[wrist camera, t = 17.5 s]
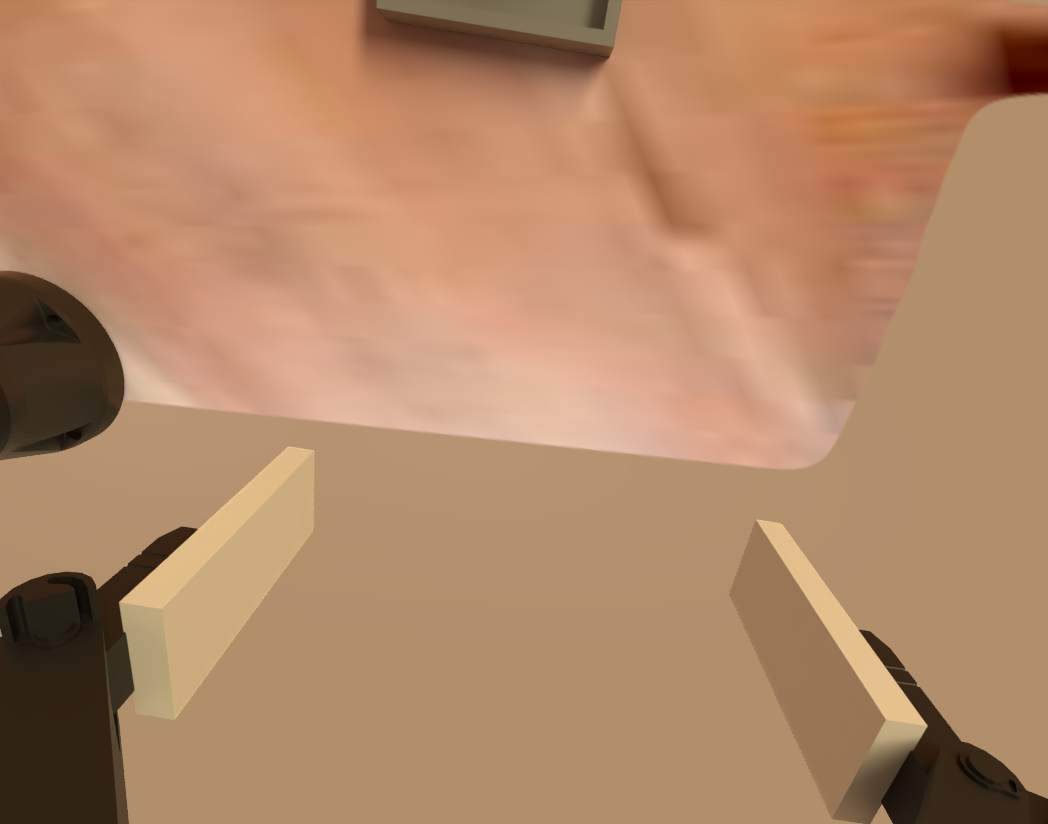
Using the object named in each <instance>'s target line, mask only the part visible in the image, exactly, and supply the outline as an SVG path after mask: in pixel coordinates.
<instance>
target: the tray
mask: <svg viewBox="0 0 1048 824" xmlns="http://www.w3.org/2000/svg"><path fill="white" fill-rule="evenodd" d="M621 3H622V0H377V6H376V8H377V9H378V10H379V11H380V13H381V14H382V15H383V16H384V17H385V18H386V19H387V20H388V21H393V22H399V23H405V24H411V25H417V26H423V27H429V28H435V29H441V30H447V31H453V32H459V33H465V34H471V35H478V36H484V37H490V38H496V39H502V40H508V41H514V42H520V43H526V44H532V45H538V46H544V47H550V48H556V49H563V50H569V51H575V52H581V53H587V54H593V55H599V56H605V57H610V55H611V52H612V50H613V47H614V42H615V37H616V31H617V26H618V20H619V14H620V9H621Z"/></svg>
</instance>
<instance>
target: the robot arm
mask: <svg viewBox="0 0 1048 824" xmlns="http://www.w3.org/2000/svg"><path fill="white" fill-rule="evenodd" d="M123 395H124V376H123V370H122V366H121V362H120V359H119V356H118V353H117V351H116V349H115V346H114V344H113V342H112V340H111V339H110V337H109V335H108V334H107V332H106V330H105V329H104V328H103V326H102V325H101V324H100V322H99V321H98V320H97V318H96V317H95V316H94V315H93V314H92V313H91V312H90V311H89V310H88V309H87V308H86V307H85V306H84V305H83V304H82V303H81V302H80V301H78V300H77V299H76V298H75V297H73V296H72V295H70V294H69V293H68V292H66V291H65V290H63V289H61V288H60V287H58V286H56V285H54V284H53V283H50V282H48V281H46V280H44V279H41V278H39V277H36V276H33V275H29V274H26V273H21V272H14V271H0V460H4V459H12V458H18V457H26V456H32V455H40V454H46V453H53V452H59V451H63V450H66V449H69V448H72V447H75V446H77V445H79V444H81V443H83V442H85V441H87V440H89V439H91V438H93V437H95V436H97V435H98V434H100V433H101V432H103V431H104V430H105V429H107V428H108V427H109V426H110V425H111V423H112V422H113V421H114V419H115V418H116V416H117V414H118V412H119V410H120V407H121V404H122V401H123ZM313 530H314V450H308V449H302V448H295V447H287V448H286V449H285V450H284V451H283V452H282V453H281V454H280V455H279V456H277V457H276V459H274V460H273V461H272V462H271V463H270V464H269V465H268V466H267V467H265V468H264V469H263V470H262V471H261V472H260V473H259V474H258V475H257V476H256V477H255V478H254V479H252V480H251V481H250V482H249V483H248V484H247V485H246V486H245V487H244V488H243V489H242V490H241V491H239V493H237V494H236V495H235V496H234V497H233V498H232V499H231V500H230V501H229V502H228V503H226V504H225V505H224V506H223V507H222V508H221V509H220V510H219V511H218V512H217V513H216V514H215V515H213V516H212V517H211V518H210V519H209V520H208V521H207V522H206V523H205V524H204V525H203V526H201V527H200V528H199V529H195V528H188V527H180V528H178V529H176V530H174V531H172V532H170V533H167V534H165V535H163V536H161V537H159V538H158V539H157V540H155V541H154V542H153V543H152V544H151V545H149V546H148V547H147V548H146V549H145V550H144V551H142V554H141V555H138V556H136V557H135V558H134V559H133V560H132V561H131V562H129V563H128V566H127V567H124V568H122V569H121V570H120V571H119V572H118V573H117V574H115V575H114V576H113V577H112V578H111V579H109V580H108V581H107V582H106V583H105V584H104V585H102V586H101V587H100V588H99V589H98V590H97V589H96V585H95V583H94V581H93V579H92V578H91V577H90V576H87V575H85V574H83V573H77V572H61V573H53V574H47V575H44V576H41V577H38V578H34V579H31V580H29V581H27V582H25V583H23V584H21V585H19V586H17V587H15V588H13V589H12V590H11V591H9V592H8V593H7V594H6V595H5V596H3V597H2V598H1V599H0V629H1V633H2V637H0V824H129V821H128V810H127V800H126V789H125V780H124V769H123V758H122V748H121V737H120V727H119V718H118V713H117V710H118V709H119V708H120V707H121V706H122V704H123V703H124V702H125V701H126V700H127V698H128V697H129V696H130V695H131V694H132V693H133V696H134V703H135V710H136V714H140V715H147V716H153V717H161V718H167V719H173V720H175V719H176V718H177V716H178V715H179V714H180V712H181V711H182V709H183V708H184V707H185V705H186V704H187V702H188V701H189V700H190V699H191V697H192V695H193V694H194V693H195V692H196V690H197V689H198V688H199V686H200V685H201V683H202V682H203V681H204V679H205V678H206V677H207V675H208V674H209V672H210V671H211V670H212V668H213V667H214V666H215V664H216V663H217V662H218V660H219V659H220V657H221V656H222V655H223V653H224V652H225V651H226V649H227V648H228V646H229V645H230V644H231V642H232V641H233V640H234V638H235V637H236V635H237V634H238V633H239V631H240V630H241V629H242V627H243V626H244V624H245V623H246V622H247V620H248V619H249V617H250V616H251V615H252V614H253V612H254V611H255V609H256V608H257V607H258V605H259V604H260V603H261V601H262V600H263V598H264V597H265V596H266V594H267V593H268V592H269V590H270V589H271V587H272V586H273V585H274V583H275V582H276V581H277V579H278V578H279V577H280V575H281V574H282V572H283V571H284V570H285V568H286V567H287V566H288V564H289V563H290V562H291V560H292V559H293V557H294V556H295V555H296V553H297V552H298V551H299V549H300V548H301V546H302V545H303V544H304V542H305V541H306V540H307V538H308V537H309V535H310V534H311V533H312V531H313ZM729 595H730V597H731V599H732V601H733V604H734V606H735V608H736V610H737V612H738V615H739V617H740V619H741V621H742V623H743V626H744V628H745V630H746V632H747V634H748V636H749V639H750V641H751V643H752V645H753V647H754V650H755V652H756V654H757V656H758V658H759V661H760V663H761V665H762V667H763V669H764V671H765V673H766V676H767V678H768V680H769V682H770V684H771V687H772V689H773V691H774V693H775V696H776V698H777V700H778V702H779V704H780V706H781V709H782V711H783V713H784V715H785V717H786V719H787V722H788V724H789V726H790V728H791V730H792V733H793V735H794V737H795V739H796V742H797V744H798V746H799V748H800V750H801V752H802V754H803V757H804V759H805V761H806V763H807V765H808V768H809V770H810V772H811V774H812V777H813V779H814V781H815V783H816V785H817V787H818V790H819V792H820V794H821V796H822V798H823V801H824V803H825V805H826V807H827V809H828V812H829V814H830V816H831V818H832V819H837V820H844V821H850V822H857V823H863V824H870V823H871V821H872V820H873V818H874V816H875V815H876V813H877V811H878V809H879V808H880V806H881V804H882V805H883V806H884V808H885V810H886V812H887V814H888V815H889V817H890V819H891V821H892V823H893V824H1048V799H1047V798H1044V797H1042V796H1039V795H1037V794H1034V793H1032V792H1029V791H1027V790H1026V789H1025V788H1024V787H1023V785H1022V784H1021V782H1020V781H1019V779H1018V778H1017V777H1016V776H1015V775H1014V774H1013V773H1012V772H1011V771H1010V770H1009V769H1008V768H1007V767H1006V766H1005V765H1004V764H1003V763H1002V762H1000V761H999V760H997V759H996V758H995V757H993V756H992V755H990V754H989V753H987V752H986V751H984V750H982V749H980V748H977V747H976V746H974V745H972V744H970V743H965V742H961V741H960V739H959V738H958V736H957V735H956V734H955V733H954V731H953V730H952V729H951V727H950V726H949V725H948V723H947V722H946V721H945V719H944V718H943V717H942V715H941V714H940V713H939V712H938V710H937V709H936V708H935V706H934V705H933V704H932V702H931V701H930V700H929V698H928V697H927V696H926V695H925V693H924V692H923V691H922V689H921V688H920V687H917V683H916V681H915V680H914V679H913V678H912V676H911V675H910V674H909V672H908V671H905V667H904V666H903V664H902V663H901V662H900V661H899V659H898V658H897V657H896V655H895V654H894V653H893V652H892V650H891V649H890V648H889V647H888V646H887V645H885V644H884V643H883V642H882V641H881V640H880V639H878V638H877V637H876V636H875V635H874V634H872V633H871V632H870V631H864V630H858V629H857V628H856V626H855V625H854V623H853V622H852V620H851V619H850V618H849V616H848V615H847V614H846V612H845V611H844V609H843V608H842V607H841V605H840V604H839V602H838V601H837V600H836V598H835V597H834V596H833V594H832V593H831V591H830V590H829V589H828V587H827V586H826V584H825V583H824V582H823V580H822V579H821V578H820V576H819V575H818V573H817V572H816V571H815V569H814V568H813V567H812V565H811V564H810V562H809V561H808V560H807V559H806V557H805V555H804V554H803V553H802V551H801V550H800V548H799V547H798V546H797V544H796V543H795V542H794V540H793V539H792V537H791V536H790V535H789V533H788V532H787V530H786V529H785V528H784V526H783V525H782V524H781V523H775V522H769V521H763V520H756V521H755V524H754V526H753V529H752V532H751V535H750V537H749V540H748V543H747V546H746V549H745V551H744V554H743V557H742V560H741V563H740V565H739V568H738V571H737V574H736V577H735V579H734V582H733V585H732V588H731V591H730V593H729Z"/></svg>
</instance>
